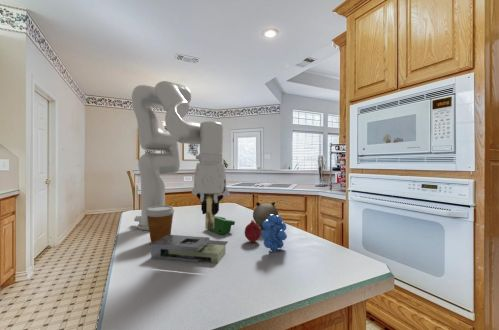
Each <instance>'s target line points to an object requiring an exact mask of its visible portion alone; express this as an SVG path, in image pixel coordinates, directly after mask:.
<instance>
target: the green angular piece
mask: <svg viewBox="0 0 499 330" xmlns="http://www.w3.org/2000/svg"><path fill="white" fill-rule="evenodd" d="M235 223H236V221H235V220H230V219H226V218H225V217H223V216H216V215H215V218H214V229H207V230H208V231H210V232H212V233H215V234H217V235H219V236H220V235H221V236H222V235H226V234H227V233H228V232H231V230H232V229H231V228H232V226H235Z"/></svg>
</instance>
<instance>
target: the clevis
mask: <svg viewBox="0 0 499 330" xmlns="http://www.w3.org/2000/svg"><path fill="white" fill-rule="evenodd" d="M210 240H211V237H207V236H206V237H205V236H193V235H179V234H178V235H177V234H171V235H166V236H164V237H162V238H161V239H159V240H157V241H155V242H154V243H152V244H151V243H150V254H151V255H150V257H151V258H150V259H152V260H160V261H161V260H162V261H172V262H179V263H181V262H183V263H193V264H199V263H200V262H201V261H202V259H204V258H210V263H211V264H219V263H220V261H221V260H222V259H223V258H224V256H225V255H226V245H227V244H226V245H214V244H207V243H208V242H210Z"/></svg>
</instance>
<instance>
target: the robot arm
mask: <svg viewBox="0 0 499 330" xmlns="http://www.w3.org/2000/svg"><path fill="white" fill-rule="evenodd" d="M191 101H192V93H191V90H190V89H189V88H188V86H186V85H184V84H183V85H182V84H179V83H176V82H171V81H167V80H163V81H159V82H158V83H157V84H155V85H154V86H151V85H147V84H139V85H137V86H135V87H134V88H133V90H132V93H131V107H132V109H133V112H134V114H135V119H136V122H137V123H136V124H137V131H138V138H139V139H138V140H139V144H140V147H141V149H143V150H144V151H150V152H149V153H145V154H142V155H141V156H140V157H139V159H138V160H137V161H138V162H137V167H138V172H139V176H140V196H141V198H140V201H141V203H140V206H141V207H140V210H141V212H140V214H141V216H140V215H136V216H135V217H134V219H133V221H134V222H138V224H137V225H136V226H137V229H138V230H140V231H149V225H148V218H147V214H146V212H147V209H148V208H150V207H154V206H166V194H165V193H166V192H165V191H166V187H165V183H164V180H163V179H162V178H161V176H167V175H168V176H169V175H175V174H177V173H178V172H179V169H180V167H181V163H180V153H179V145H178V143H180V144H186V145H199V153H198V155H196V156H195V160H198V162H197V163H196V167H195V172H194V178H193V189H192V191H191V194H193V195H194V196H195V197H197V198H198V199H199V201H200V202H201V206H200V207H201V212H202V213H201V214H202V215H206V194H214V203H213V215H215V216H216V215H217V214H218V213H219V211H220V201H222V200H223V199H224V198H225V197H227V196H230V191H229V189H228V188H227V176H226V168H225V164H224V163H223V140H224V139H223V138H224V136H223V133H224V128H223V127H224V126H223V124H222V123H221V122H218V121H211V120H209V121H202V122H196V121H188V120H183V118H184V117H186V116H187V114H188V113H189V111H190V103H191ZM151 108H156V109H161V110H165V111H166V113H165V118H164V119H165V120H164V122H165V129H161V128H160V126H159V119H158V117H157V115H156V114H155V111H154V110H152V109H151ZM156 152H157V153H156ZM160 152H161V153H160ZM162 152H163V153H162Z"/></svg>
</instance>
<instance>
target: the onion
mask: <svg viewBox="0 0 499 330" xmlns="http://www.w3.org/2000/svg"><path fill="white" fill-rule="evenodd" d="M261 232H262V231H261V229H260V227H259V225H258V224H257V223H256V222H255V221H254V219H251V221H250V223H248V224H247V225H246V227H245V229H244V236H245V238H246V239H247V240H248V241H249V242H250V243H252V244H253V243H255V242H257V241H258V240H260V238H261Z"/></svg>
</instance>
